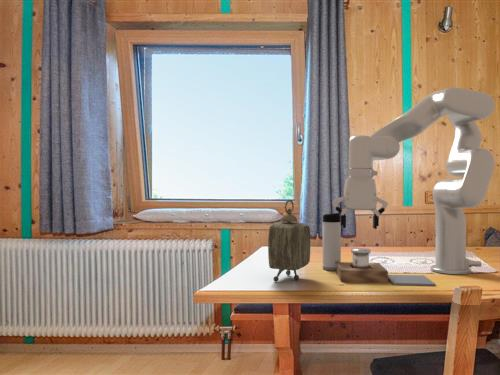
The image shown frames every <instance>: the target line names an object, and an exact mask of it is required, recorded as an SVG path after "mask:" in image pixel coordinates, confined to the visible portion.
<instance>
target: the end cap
mask: <svg viewBox="0 0 500 375" xmlns="http://www.w3.org/2000/svg"><path fill="white" fill-rule="evenodd" d="M350 251H351V253H352V262H353V268H369V263H370V254H371V249H370V248H366V247H365V248H364V247H354V248H350Z"/></svg>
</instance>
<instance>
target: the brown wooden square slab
mask: <svg viewBox="0 0 500 375" xmlns="http://www.w3.org/2000/svg"><path fill="white" fill-rule="evenodd" d="M336 274H337V276H338V279H339V280H340V282H341V283H342V282H343V283H345V282H346V283H347V282H348V283H381V284H382V283H383V284H384V283H385V284H386V283H387V284H388V283H389V280H388V275H389V272H388V269H386V268H385V267H384V266H383V265H382V264H381V263H380V262H369V268H353V261H352V262H348V261H347V262H346V261H345V262H344V261H341V262H337V271H336Z"/></svg>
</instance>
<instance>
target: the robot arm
mask: <svg viewBox="0 0 500 375" xmlns="http://www.w3.org/2000/svg"><path fill="white" fill-rule="evenodd" d="M495 108H496V102H495V100H494V99H493V97H492V96H491V95H489V94H488V93H486V92H483V91H477V90H472V89H466V88H462V87H456V86H455V87H453V86H452V87H447V88H444V89H440V90H436V91H433V92H432V93H430V94H427V95H426V96H425V97H424V98H422V99H421V100H420V101H418V103H416V104H415V105H413V107H411V108H409V110H407V111H406V112H404V113H403V114H401V115H400V116H399V117H396V118H394V119H393V120H392V121H391V122H388V123H387V124H385V125H384V126H382V127H381V128H379V129H378V130H377V131H375V132H373V134H371V135H363V134H362V135H353V136H350V138H349V141H348V175H347V176H348V178H345V182H344V188H343V196H341V197H338V198H336V199H334V200H333V201H332V202H331V203H332V205H333V207H334V208H335V209H334V210H336V211H337V213H340V218H341V219H340V220H341V223H340V224H341V226H342V229H346V228H347V226H346V225H347V215H346V213H347V212H348V211H350V210H355V211H371V212H372V213H373V216H372V228H373V229H374V230H377V228H378V227H379V226H380V225H379V224H380V223H379V220H380V218H379V217H380V216H381V215H382V214H383V213H384V212H385V210H386V209H387V207H388V206H389V203H388V202H387V201H385V200H383V199H382V198H380V197H377V185H376V179H375V178H374V177H375V176H378V171H377V170H374V168H373V167H374V161H381V160H382V161H384V160H390V159H392V158H395V157H396V156H397V155H398V154H399V152H400V149H401V147H400V143H401V142H403V141H406V140H409V139H412V138H414V137H416V136H419V135H420V134H422V133H423V132H425V130H427V129H428V128H430V127H431V126H432V125H434V123H436V122H437V121H439V120H440V118H442V117H444V116H447V118H448V120H449V122H450V123H451V125H452V128H453V131H454V138H453V142H452V145H451V148H450V151H449V154H448V157H447V160H446V164H445V167H446V168H445V169H446V172H447V173H448V175H450V176H453V177H456V178H446V179H445V178H444V179H442V180H439V181H438V182H436V183H435V185H434V186H433V188H432V201H433V205H434V212H435V214H434V215H435V263H434V264H432V265H430V270H431V271H432V272H435V273H440V274H445V275H468V274H471V273H472V267H477V268H478V267H479V268H481V267H482V261H481V260H471V259H469V258H467V217H466V215H465V212H464V210H463V208H465V209H466V208H468V209H469V208H470V209H472V208H476V207H479V206H480V205H481V204H482V203H483V201H484V199H485V197H486V195H487V191H488V189H489V187H490V182H491V180H492V176H493V174H494V170H495V163H496V162H495V157H494V155H493V153H492V152H491V150H489V149H487V148H484V147H481V144H482V131H481V130H480V128H479V126H478V125H477V123H476V122H477V121H481V120H485V119H487V118H489V117H491V116H492V115H493V113H494V111H495ZM457 177H458V178H457ZM339 203H342V205H343V208H342V209H341V208H340V207H339V205H338V204H339ZM378 203H379V204H381V207H380V208H379V209H377V207H378V206H377V205H378Z"/></svg>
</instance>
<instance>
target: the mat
mask: <svg viewBox="0 0 500 375" xmlns="http://www.w3.org/2000/svg"><path fill="white" fill-rule="evenodd" d="M388 282H390V283H391V284H392V285H393V286H420V287H421V286H422V287H424V286H425V287H426V286H427V287H436V286H437V285H436V284H437V283H435V282H433V280H431V279H429V278H428V277H426V276H425V275H424V274H423V275H421V274H418V275H415V274H388Z"/></svg>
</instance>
